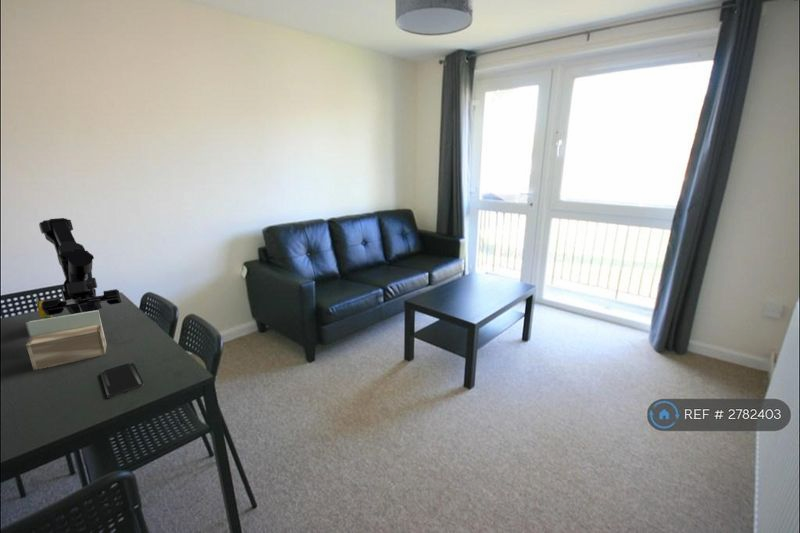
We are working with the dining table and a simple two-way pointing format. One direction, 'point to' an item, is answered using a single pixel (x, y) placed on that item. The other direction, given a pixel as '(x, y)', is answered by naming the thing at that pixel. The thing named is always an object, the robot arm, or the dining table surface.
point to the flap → (63, 323)
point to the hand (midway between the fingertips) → (86, 326)
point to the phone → (121, 380)
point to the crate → (66, 346)
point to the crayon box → (41, 312)
